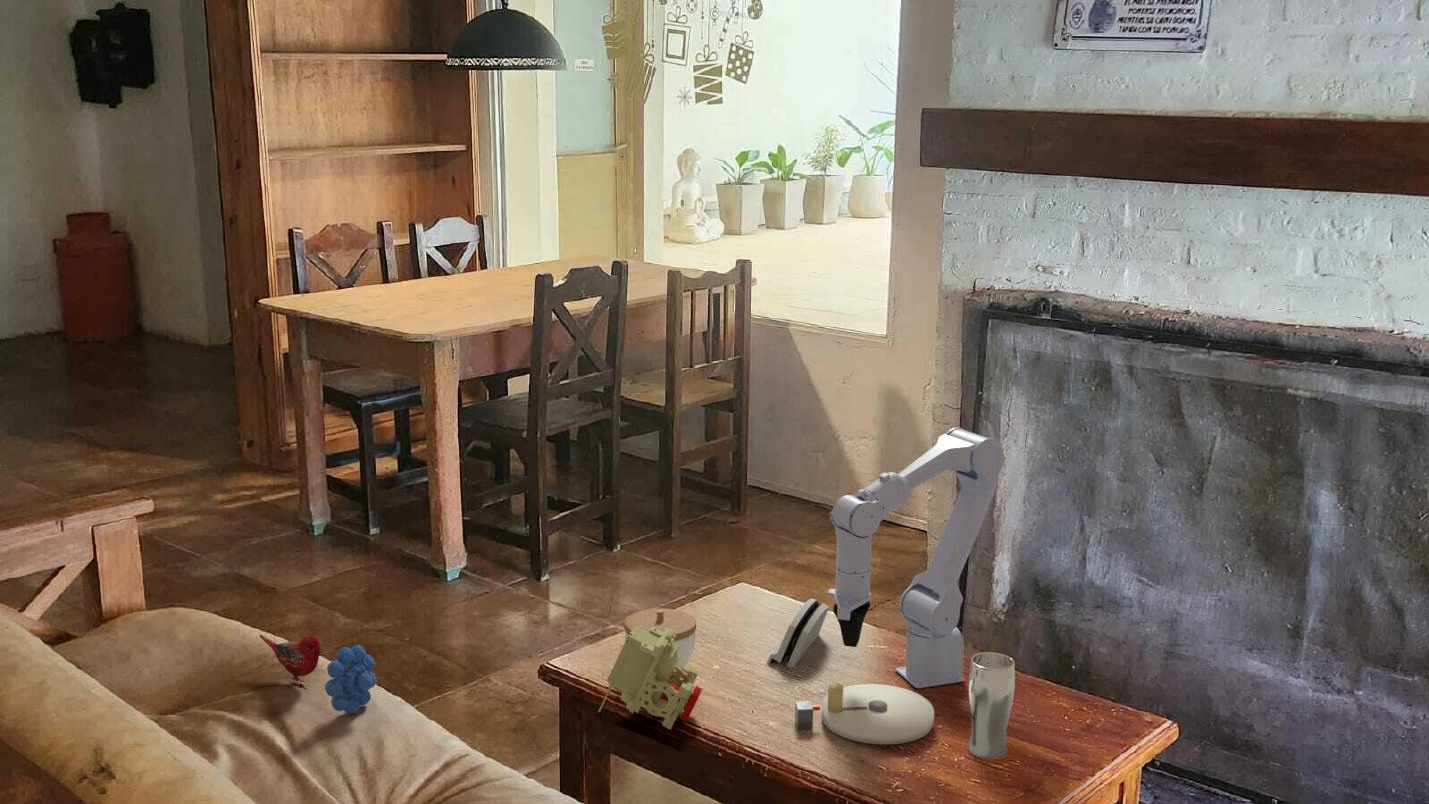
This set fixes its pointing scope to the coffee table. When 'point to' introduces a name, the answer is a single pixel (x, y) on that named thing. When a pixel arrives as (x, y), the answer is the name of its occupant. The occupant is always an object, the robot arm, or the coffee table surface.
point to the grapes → (350, 679)
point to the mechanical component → (653, 676)
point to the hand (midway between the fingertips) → (850, 645)
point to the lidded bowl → (670, 619)
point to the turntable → (877, 713)
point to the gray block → (804, 714)
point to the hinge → (800, 633)
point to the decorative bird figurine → (297, 655)
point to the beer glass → (990, 703)
